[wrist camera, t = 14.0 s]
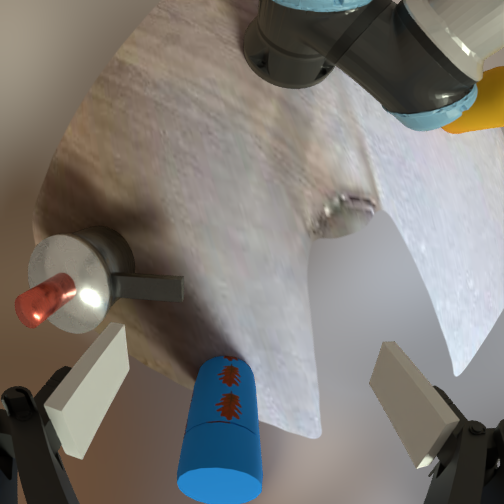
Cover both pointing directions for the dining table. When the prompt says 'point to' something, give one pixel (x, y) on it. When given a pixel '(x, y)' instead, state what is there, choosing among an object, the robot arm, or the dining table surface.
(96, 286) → the lid
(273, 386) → the dining table surface
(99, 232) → the pot
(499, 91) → the beer bottle
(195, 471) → the thermos
